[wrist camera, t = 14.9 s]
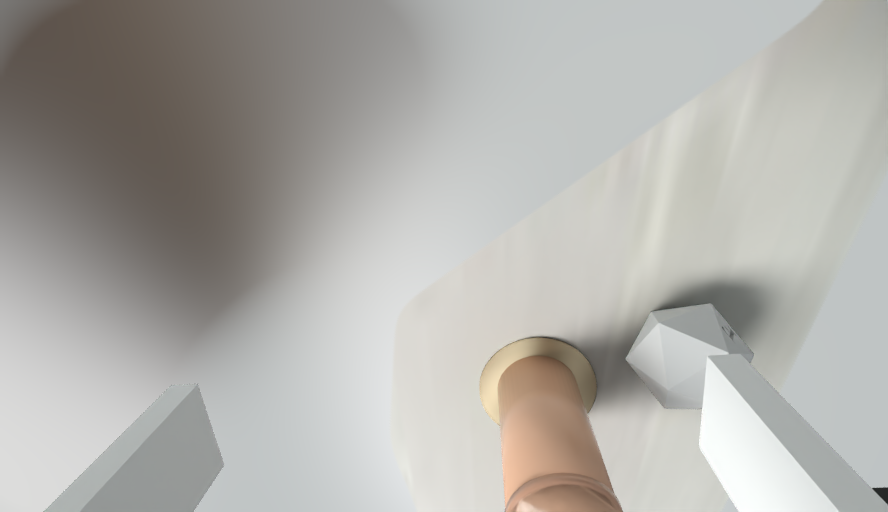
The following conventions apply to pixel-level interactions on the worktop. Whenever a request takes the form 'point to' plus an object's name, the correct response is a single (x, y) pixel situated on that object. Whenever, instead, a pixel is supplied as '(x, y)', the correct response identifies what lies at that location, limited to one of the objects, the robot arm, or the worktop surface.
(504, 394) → the jar
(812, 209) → the worktop surface
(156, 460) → the robot arm
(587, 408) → the disc
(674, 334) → the die
